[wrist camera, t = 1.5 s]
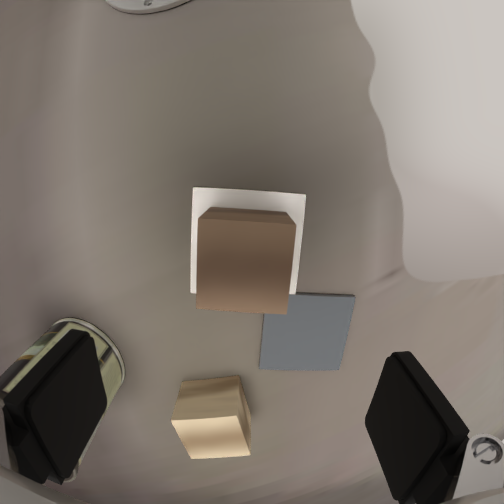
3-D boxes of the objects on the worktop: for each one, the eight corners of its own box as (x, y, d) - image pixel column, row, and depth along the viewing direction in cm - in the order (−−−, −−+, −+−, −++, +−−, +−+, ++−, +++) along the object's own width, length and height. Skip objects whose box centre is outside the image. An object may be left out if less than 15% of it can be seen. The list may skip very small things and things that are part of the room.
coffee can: (60, 384, 30) (6, 459, 17) (40, 311, 28) (-40, 378, 14) (133, 401, 30) (91, 496, 17) (119, 324, 28) (48, 419, 14)
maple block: (182, 381, 30) (170, 420, 24) (239, 374, 29) (236, 415, 23) (198, 419, 31) (191, 458, 25) (250, 414, 31) (250, 455, 25)
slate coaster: (266, 291, 27) (266, 293, 26) (353, 295, 27) (355, 297, 26) (258, 366, 29) (259, 369, 28) (337, 367, 29) (339, 369, 28)
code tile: (193, 186, 24) (192, 187, 24) (305, 194, 25) (306, 194, 24) (191, 291, 27) (190, 293, 26) (294, 297, 27) (294, 300, 26)
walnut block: (210, 206, 24) (197, 218, 19) (286, 211, 25) (296, 224, 19) (207, 278, 26) (196, 308, 20) (279, 282, 26) (286, 314, 20)
